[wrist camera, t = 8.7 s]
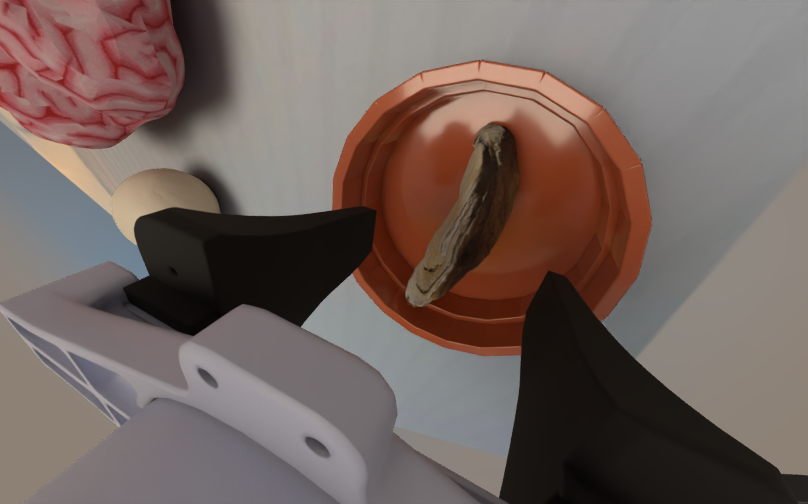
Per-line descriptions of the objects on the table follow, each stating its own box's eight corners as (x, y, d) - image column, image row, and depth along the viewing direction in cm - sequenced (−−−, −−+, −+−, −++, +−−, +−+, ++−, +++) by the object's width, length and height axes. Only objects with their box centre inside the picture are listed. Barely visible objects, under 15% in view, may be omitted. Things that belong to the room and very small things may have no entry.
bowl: (696, 104, 11) (767, 109, 8) (547, 336, 19) (548, 395, 15) (387, 48, 15) (336, 34, 11) (364, 262, 22) (329, 295, 18)
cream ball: (223, 248, 29) (149, 284, 24) (173, 186, 28) (83, 209, 22) (252, 219, 25) (172, 254, 20) (195, 145, 24) (93, 161, 18)
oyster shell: (483, 163, 19) (432, 305, 19) (437, 137, 17) (382, 293, 18) (564, 147, 13) (491, 347, 14) (507, 108, 12) (427, 333, 12)
